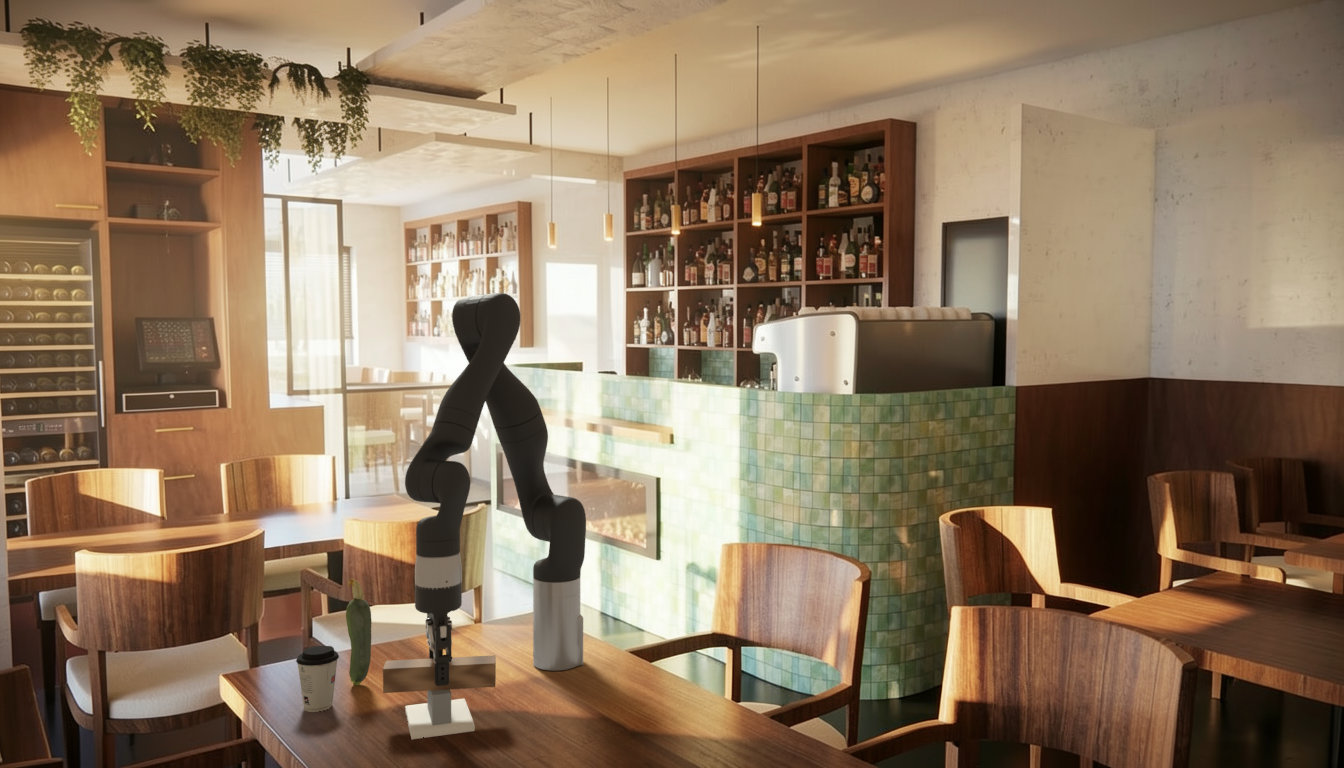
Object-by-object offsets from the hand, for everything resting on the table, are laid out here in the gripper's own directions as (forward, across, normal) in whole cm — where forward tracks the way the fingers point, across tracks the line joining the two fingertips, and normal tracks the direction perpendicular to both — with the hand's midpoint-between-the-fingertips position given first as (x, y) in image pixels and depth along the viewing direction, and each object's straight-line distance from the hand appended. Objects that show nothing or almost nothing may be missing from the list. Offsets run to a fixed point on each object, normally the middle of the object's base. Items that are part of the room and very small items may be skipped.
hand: (438, 676), depth 158 cm
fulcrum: (+8, 0, 0) cm, 8 cm away
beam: (+2, 0, 0) cm, 2 cm away
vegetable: (+8, +21, +12) cm, 25 cm away
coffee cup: (+8, +13, +19) cm, 24 cm away
